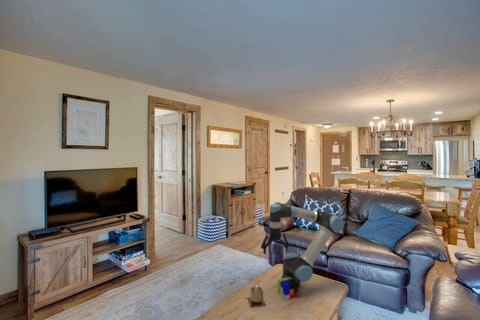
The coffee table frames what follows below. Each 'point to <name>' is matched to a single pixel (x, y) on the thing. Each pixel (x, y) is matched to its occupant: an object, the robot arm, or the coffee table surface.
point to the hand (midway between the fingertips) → (275, 257)
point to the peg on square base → (256, 304)
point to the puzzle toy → (287, 288)
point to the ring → (256, 295)
